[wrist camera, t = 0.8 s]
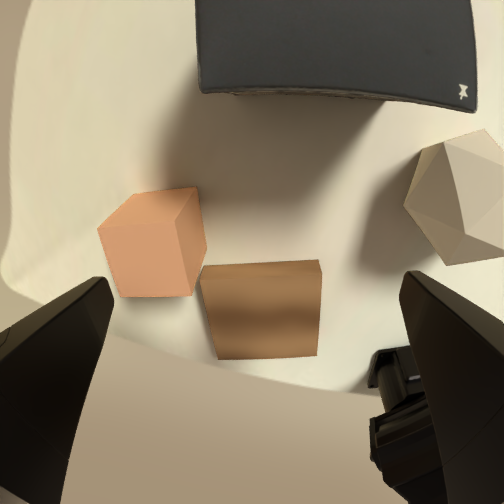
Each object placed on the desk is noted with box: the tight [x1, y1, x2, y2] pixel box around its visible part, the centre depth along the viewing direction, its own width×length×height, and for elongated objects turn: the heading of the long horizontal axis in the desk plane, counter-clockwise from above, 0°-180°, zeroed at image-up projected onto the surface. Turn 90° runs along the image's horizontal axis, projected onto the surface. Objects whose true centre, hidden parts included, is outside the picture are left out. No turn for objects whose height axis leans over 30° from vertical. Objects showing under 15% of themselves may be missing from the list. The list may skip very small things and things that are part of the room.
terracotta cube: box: [97, 187, 207, 297], centre depth 20 cm, size 5×5×6 cm
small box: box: [195, 0, 478, 113], centre depth 12 cm, size 11×6×10 cm, turn 92°
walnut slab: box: [199, 260, 322, 360], centre depth 25 cm, size 9×9×2 cm
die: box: [403, 129, 504, 266], centre depth 16 cm, size 8×9×10 cm
